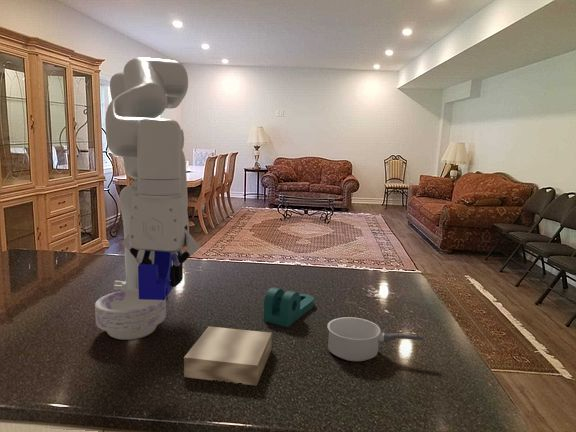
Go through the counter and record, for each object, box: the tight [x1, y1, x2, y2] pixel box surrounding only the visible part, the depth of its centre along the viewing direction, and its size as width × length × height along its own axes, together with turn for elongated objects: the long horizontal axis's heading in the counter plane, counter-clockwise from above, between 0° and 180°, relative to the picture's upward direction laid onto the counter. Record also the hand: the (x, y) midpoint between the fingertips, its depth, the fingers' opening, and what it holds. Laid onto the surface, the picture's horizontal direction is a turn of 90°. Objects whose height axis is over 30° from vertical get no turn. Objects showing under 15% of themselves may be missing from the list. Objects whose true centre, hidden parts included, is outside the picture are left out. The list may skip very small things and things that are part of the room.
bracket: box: [263, 286, 315, 328], centre depth 115 cm, size 18×7×8 cm, turn 153°
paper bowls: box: [94, 289, 167, 341], centre depth 100 cm, size 15×15×8 cm
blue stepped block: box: [138, 251, 174, 300], centre depth 82 cm, size 12×4×6 cm, turn 2°
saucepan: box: [326, 316, 424, 362], centre depth 94 cm, size 12×20×6 cm, turn 77°
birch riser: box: [183, 325, 273, 386], centre depth 88 cm, size 14×14×4 cm
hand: (161, 282), depth 83 cm, fingers closed on blue stepped block, 5 cm apart
